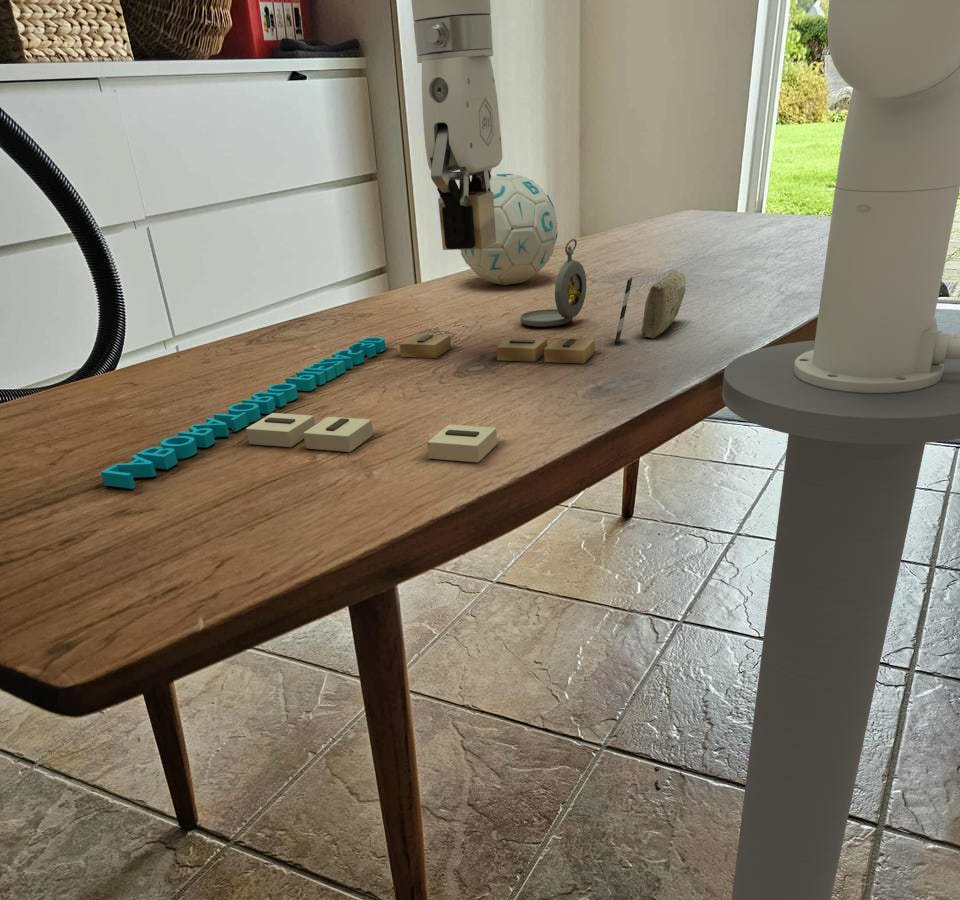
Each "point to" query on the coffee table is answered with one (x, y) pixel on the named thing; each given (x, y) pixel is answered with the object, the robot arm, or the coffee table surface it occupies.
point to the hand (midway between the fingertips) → (469, 242)
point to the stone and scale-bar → (658, 304)
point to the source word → (507, 348)
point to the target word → (366, 436)
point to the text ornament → (238, 415)
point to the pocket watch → (562, 295)
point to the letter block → (478, 219)
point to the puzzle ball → (516, 232)
